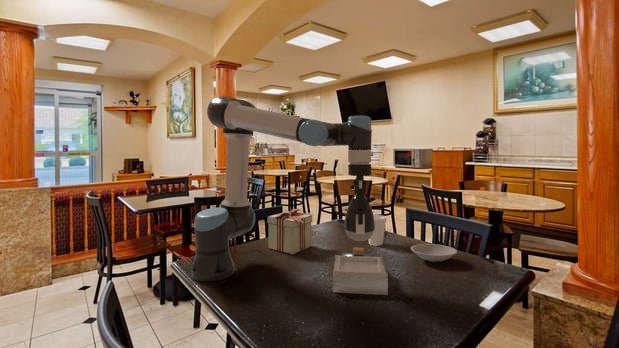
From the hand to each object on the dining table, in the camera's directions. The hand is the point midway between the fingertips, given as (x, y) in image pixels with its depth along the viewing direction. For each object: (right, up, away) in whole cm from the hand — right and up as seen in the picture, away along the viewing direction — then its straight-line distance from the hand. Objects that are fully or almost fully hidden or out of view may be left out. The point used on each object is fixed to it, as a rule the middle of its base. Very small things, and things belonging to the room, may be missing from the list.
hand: (359, 229), depth 106 cm
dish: (+33, -17, +21) cm, 42 cm away
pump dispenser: (0, -3, 0) cm, 3 cm away
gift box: (-24, -16, +40) cm, 49 cm away
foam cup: (+15, -15, +44) cm, 49 cm away
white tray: (0, -18, +5) cm, 19 cm away
